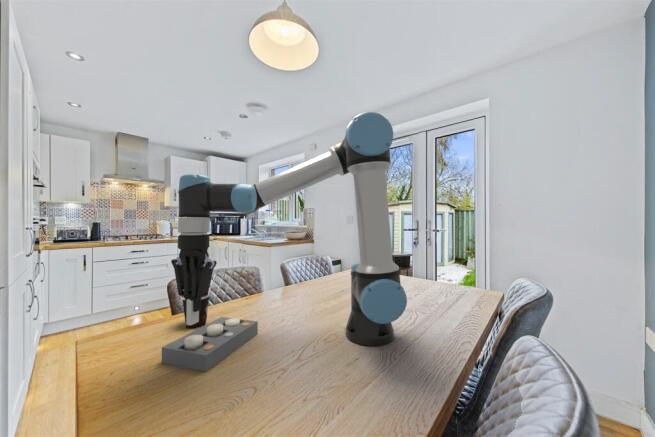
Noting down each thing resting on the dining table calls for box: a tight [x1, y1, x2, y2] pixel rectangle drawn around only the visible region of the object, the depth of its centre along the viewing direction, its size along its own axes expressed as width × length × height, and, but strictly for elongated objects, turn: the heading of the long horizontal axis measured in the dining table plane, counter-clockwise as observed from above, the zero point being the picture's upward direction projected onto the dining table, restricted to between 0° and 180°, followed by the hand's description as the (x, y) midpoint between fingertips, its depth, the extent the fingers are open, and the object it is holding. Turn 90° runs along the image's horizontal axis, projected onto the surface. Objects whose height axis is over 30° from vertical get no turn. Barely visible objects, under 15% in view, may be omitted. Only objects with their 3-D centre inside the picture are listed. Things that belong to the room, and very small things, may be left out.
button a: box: [225, 317, 241, 327], centre depth 86 cm, size 4×4×2 cm
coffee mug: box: [181, 293, 210, 330], centre depth 96 cm, size 12×9×10 cm
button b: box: [207, 324, 223, 337], centre depth 78 cm, size 4×4×2 cm
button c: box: [184, 335, 203, 350], centre depth 71 cm, size 4×4×2 cm
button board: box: [161, 316, 259, 372], centre depth 78 cm, size 14×23×4 cm, turn 163°
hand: (192, 323), depth 71 cm, fingers closed
